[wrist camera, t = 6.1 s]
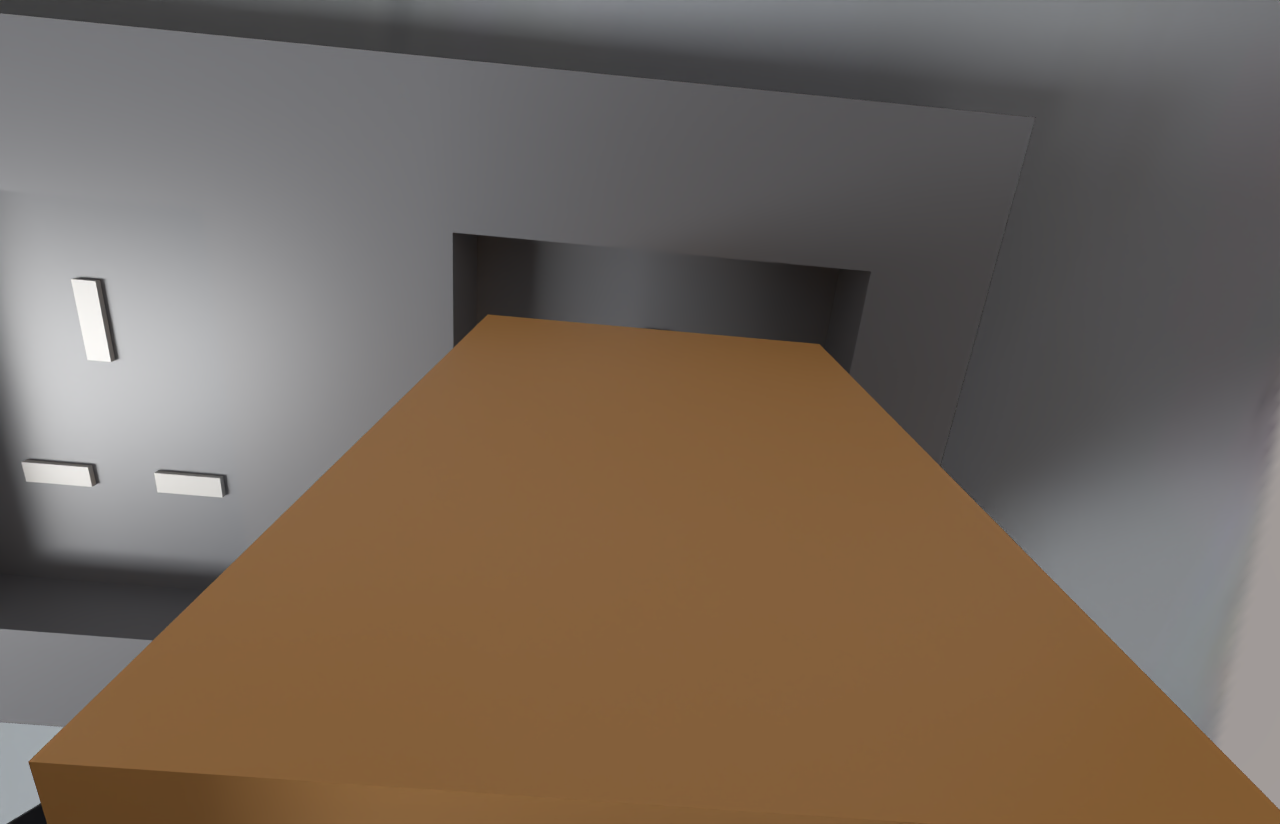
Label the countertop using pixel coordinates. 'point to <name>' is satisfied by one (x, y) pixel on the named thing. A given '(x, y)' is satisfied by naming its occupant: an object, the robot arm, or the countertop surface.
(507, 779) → the plug
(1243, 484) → the countertop surface
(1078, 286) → the countertop surface
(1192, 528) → the countertop surface
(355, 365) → the socket plate
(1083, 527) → the countertop surface
